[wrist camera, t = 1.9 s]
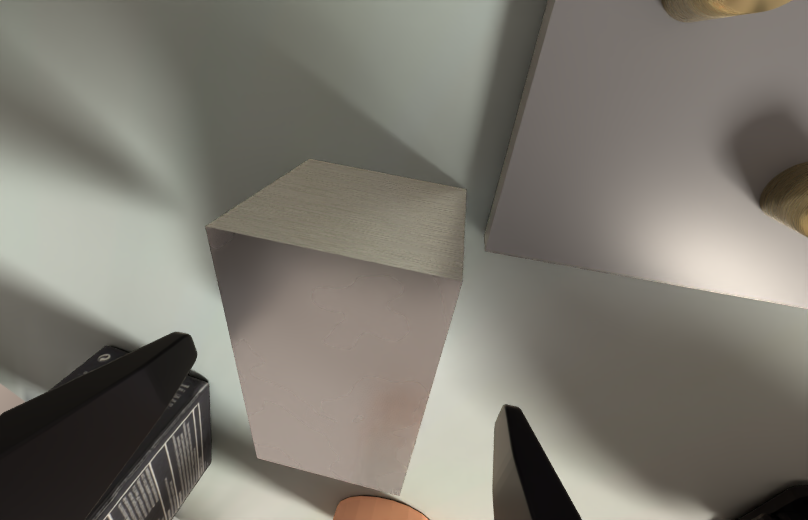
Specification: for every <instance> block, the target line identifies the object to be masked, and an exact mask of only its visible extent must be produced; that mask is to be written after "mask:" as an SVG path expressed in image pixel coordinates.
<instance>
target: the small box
mask: <svg viewBox="0 0 808 520" xmlns="http://www.w3.org/2000/svg"><path fill="white" fill-rule="evenodd" d="M126 354H128V353H127V352H125V351H122V350H119V349H116V348H113V347H111V346H105V347H103V348H102V349H101V350H100V351H99V352H97V353H96V354H95V355H94V356H92V357H91V358H90V359H88V360H87V361H86V362H85V363H83V364H82V365H81V366H80V367H78V368H77V369H76V370H75V371H73V372H72V373H71V374H69V375H68V376H67V377H66V378H64V379H63V380H62V381H61V382H59V383H58V384H57V385H56V386H54V387H53V388H52V389H54V388H57V387H59V386H61V385H63V384H65V383H67V382H69V381H71V380H73V379H76V378H78V377H80V376H82V375H84V374H86V373H88V372H90V371H92V370H95V369H97V368H99V367H101V366H103V365H105V364H107V363H109V362H111V361H114V360H116V359H118V358H120V357H122V356H124V355H126ZM52 389H51V390H52ZM49 391H50V390H49ZM209 398H210V396H209V383H207V382H204V381H202V380H199V379H196V378H193V377H190V376H188V375H187V376H186V378H185V379H184V381H183V383H182V384H181V386H180V388H179V389H178V391H177V392H176V394H175V396H174V397H173V399H172V401H171V402H170V404H169V405H168V407H167V409H166V410H165V412H164V413H163V414H162V416H161V417H160V419H159V420H158V421H157V423H156V424H155V425H154V427H153V428H152V429H151V431H150V432H149V434H148V435H147V436H146V438H145V439H144V440H143V442H142V443H141V444H140V446H139V447H138V448H137V450H136V451H135V453H134V454H133V455H132V457H131V458H130V459H129V461H128V462H127V463H126V465H125V466H124V467H123V469H122V470H121V471H120V473H119V474H118V476H117V477H116V478H115V480H114V481H113V482H112V484H111V485H110V486H109V488H108V489H107V490H106V492H105V493H104V495H103V496H102V497H101V499H100V500H99V501H98V503H97V504H96V505H95V507H94V508H93V509H92V511H91V512H90V513H89V515H88V516H87V518H86V519H85V520H172V519H173V517H174V516H175V514H176V513H177V512H178V510H179V509H180V507H181V506H182V504H183V503H184V501H185V500H186V498H187V497H188V495H189V494H190V492H191V491H192V489H193V488H194V486H195V485H196V484H197V482H198V481H199V479H200V478H201V476H202V475H203V474H204V472H205V471H206V469H207V468H208V466H209V465H210V464H211V461H212V460H211V428H210V399H209Z"/></svg>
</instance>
